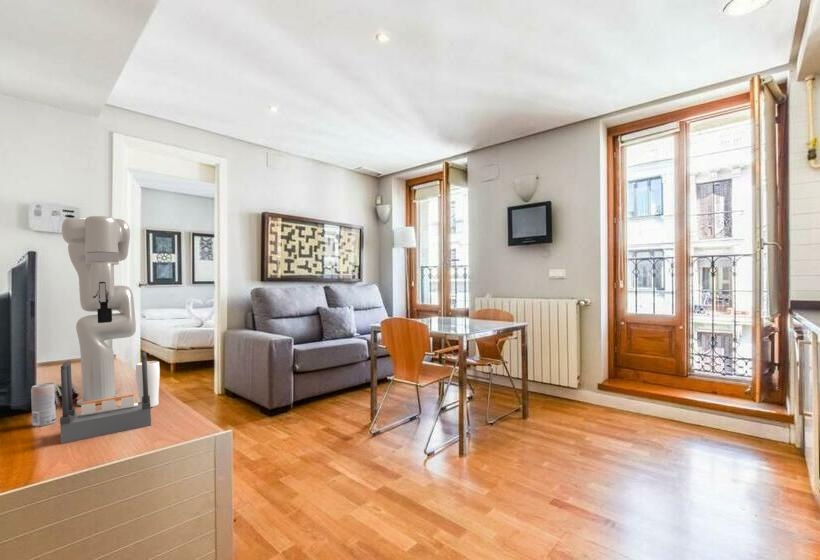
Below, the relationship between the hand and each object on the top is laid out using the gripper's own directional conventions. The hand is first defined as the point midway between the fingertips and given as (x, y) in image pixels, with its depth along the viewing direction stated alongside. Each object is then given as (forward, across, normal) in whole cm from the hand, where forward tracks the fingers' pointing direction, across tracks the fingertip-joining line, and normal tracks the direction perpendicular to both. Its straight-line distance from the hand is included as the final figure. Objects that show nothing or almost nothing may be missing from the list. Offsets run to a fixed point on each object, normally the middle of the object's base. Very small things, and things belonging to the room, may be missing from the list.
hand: (105, 322), depth 114 cm
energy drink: (+31, -20, -17) cm, 41 cm away
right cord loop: (+26, 0, +9) cm, 28 cm away
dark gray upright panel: (+26, 0, -9) cm, 28 cm away
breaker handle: (+26, 0, 0) cm, 26 cm away
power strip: (+31, 0, 0) cm, 31 cm away
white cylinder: (+31, -18, +10) cm, 37 cm away
